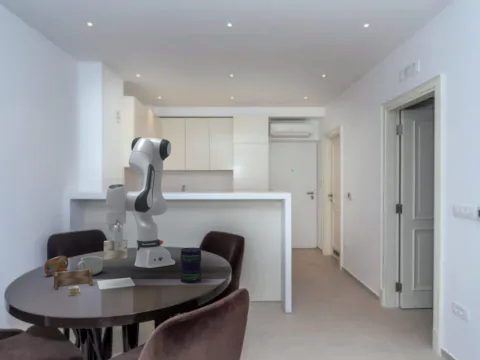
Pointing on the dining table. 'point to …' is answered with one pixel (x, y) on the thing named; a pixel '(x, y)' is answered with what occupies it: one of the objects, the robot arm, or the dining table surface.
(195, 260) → the storage jar
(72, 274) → the frame
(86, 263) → the teacup
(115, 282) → the mat
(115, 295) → the dining table surface
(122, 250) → the cream rectangular block
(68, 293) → the offcut low
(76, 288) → the offcut top
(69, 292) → the offcut mid
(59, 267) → the tin
